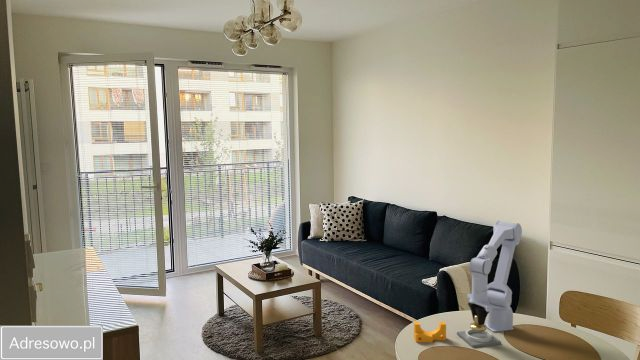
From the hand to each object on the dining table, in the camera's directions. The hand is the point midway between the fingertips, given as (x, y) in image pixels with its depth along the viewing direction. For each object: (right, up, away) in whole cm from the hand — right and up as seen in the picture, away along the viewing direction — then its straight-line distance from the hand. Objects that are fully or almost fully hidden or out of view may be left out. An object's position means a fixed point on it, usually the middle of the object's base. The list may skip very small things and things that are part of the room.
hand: (478, 322), depth 184 cm
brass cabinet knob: (0, -2, 0) cm, 2 cm away
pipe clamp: (-19, -7, +1) cm, 20 cm away
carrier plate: (0, -7, +1) cm, 7 cm away
